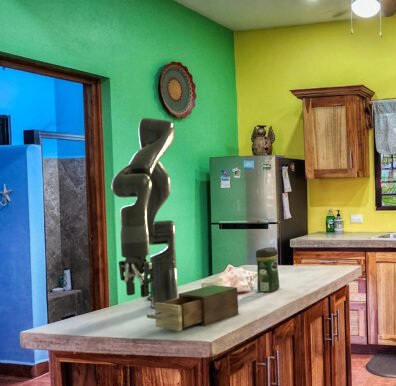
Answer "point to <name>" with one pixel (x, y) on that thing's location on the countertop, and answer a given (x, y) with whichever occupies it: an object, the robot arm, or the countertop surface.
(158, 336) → the countertop surface
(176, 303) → the drawer
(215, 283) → the white cup
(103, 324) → the countertop surface
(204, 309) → the cabinet
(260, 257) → the coffee jar
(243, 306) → the countertop surface
